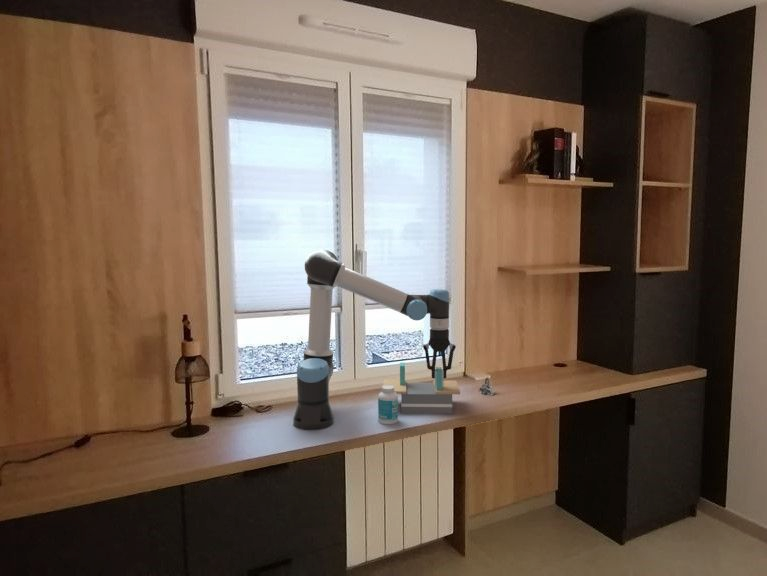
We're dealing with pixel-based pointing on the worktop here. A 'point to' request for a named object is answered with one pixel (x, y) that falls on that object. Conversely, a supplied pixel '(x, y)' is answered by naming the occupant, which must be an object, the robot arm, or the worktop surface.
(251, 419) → the worktop surface
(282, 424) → the worktop surface
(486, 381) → the grey irregular piece
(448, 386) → the flap
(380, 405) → the pill bottle
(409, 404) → the carton
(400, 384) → the flap
